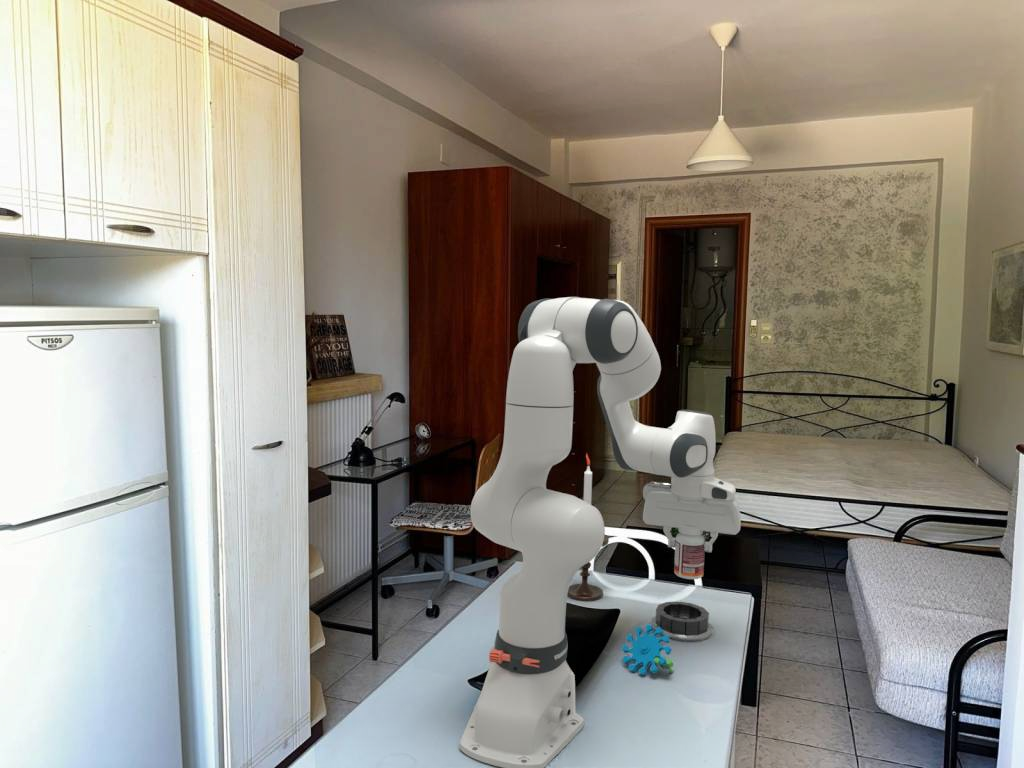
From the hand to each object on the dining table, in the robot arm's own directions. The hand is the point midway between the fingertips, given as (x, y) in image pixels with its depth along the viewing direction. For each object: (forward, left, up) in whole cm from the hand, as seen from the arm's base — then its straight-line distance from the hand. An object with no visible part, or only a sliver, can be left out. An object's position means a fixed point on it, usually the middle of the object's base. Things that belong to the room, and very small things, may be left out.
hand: (689, 548), depth 154 cm
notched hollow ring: (+2, +1, -19) cm, 19 cm away
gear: (-20, +5, -19) cm, 28 cm away
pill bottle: (0, 0, -6) cm, 6 cm away
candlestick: (+13, +26, -19) cm, 35 cm away
